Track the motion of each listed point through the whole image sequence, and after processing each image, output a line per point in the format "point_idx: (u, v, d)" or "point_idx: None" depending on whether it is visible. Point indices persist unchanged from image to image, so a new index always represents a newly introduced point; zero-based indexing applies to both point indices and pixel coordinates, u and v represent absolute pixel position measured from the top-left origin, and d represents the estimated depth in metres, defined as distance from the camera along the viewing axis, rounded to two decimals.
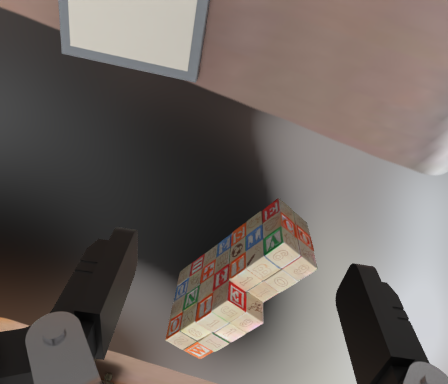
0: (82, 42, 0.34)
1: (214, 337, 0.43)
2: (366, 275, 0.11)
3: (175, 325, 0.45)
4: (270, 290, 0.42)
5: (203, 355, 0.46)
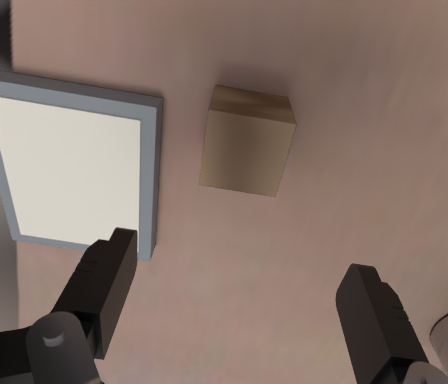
0: (0, 114, 0.22)
1: None
2: (366, 275, 0.11)
3: None
4: None
5: None
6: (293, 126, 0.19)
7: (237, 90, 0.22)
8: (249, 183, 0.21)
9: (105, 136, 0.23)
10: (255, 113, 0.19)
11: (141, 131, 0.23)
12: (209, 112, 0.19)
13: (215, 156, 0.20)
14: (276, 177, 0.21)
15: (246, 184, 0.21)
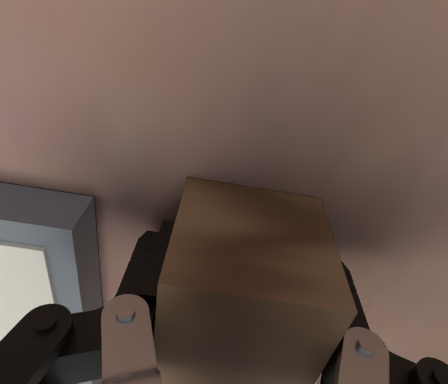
0: None
1: None
2: None
3: None
4: None
5: None
6: (350, 315, 0.08)
7: (227, 190, 0.12)
8: None
9: None
10: (264, 278, 0.09)
11: (51, 263, 0.12)
12: (160, 288, 0.08)
13: (179, 351, 0.10)
14: (305, 382, 0.10)
15: None
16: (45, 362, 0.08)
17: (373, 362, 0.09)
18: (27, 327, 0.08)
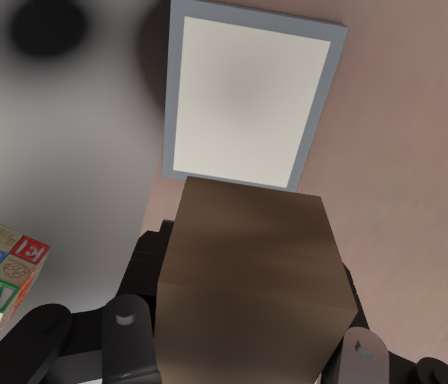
0: (191, 37, 0.23)
1: None
2: None
3: None
4: None
5: None
6: (350, 313, 0.08)
7: (227, 188, 0.12)
8: None
9: (290, 59, 0.23)
10: (264, 277, 0.09)
11: (327, 54, 0.23)
12: (160, 286, 0.08)
13: (180, 349, 0.10)
14: (305, 381, 0.10)
15: None
16: (46, 362, 0.08)
17: (373, 362, 0.09)
18: (27, 327, 0.08)
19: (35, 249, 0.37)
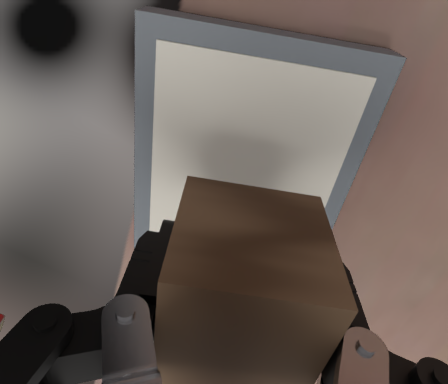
0: (167, 70, 0.15)
1: None
2: None
3: None
4: None
5: None
6: (350, 314, 0.08)
7: (227, 189, 0.12)
8: None
9: (314, 103, 0.16)
10: (264, 277, 0.09)
11: (370, 95, 0.16)
12: (160, 286, 0.08)
13: (180, 350, 0.10)
14: (305, 381, 0.10)
15: None
16: (45, 362, 0.08)
17: (373, 362, 0.09)
18: (27, 327, 0.08)
19: None
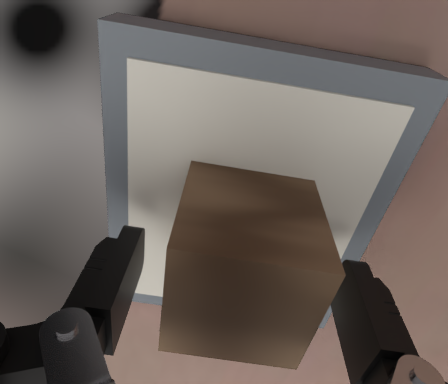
0: (143, 96, 0.12)
1: None
2: (358, 271, 0.12)
3: None
4: None
5: None
6: (339, 278, 0.09)
7: (228, 172, 0.13)
8: (249, 351, 0.12)
9: (332, 137, 0.12)
10: (261, 246, 0.10)
11: (404, 127, 0.12)
12: (168, 252, 0.09)
13: (184, 315, 0.11)
14: (299, 345, 0.11)
15: (244, 352, 0.12)
16: None
17: None
18: None
19: None
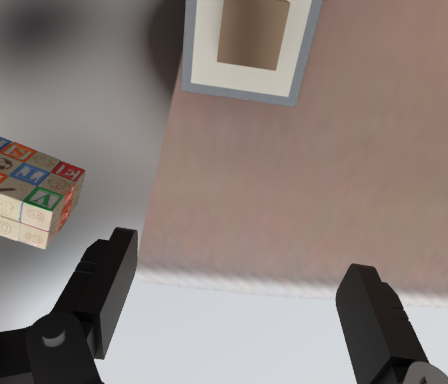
0: None
1: None
2: (366, 275, 0.11)
3: None
4: None
5: None
6: (288, 4, 0.25)
7: None
8: (255, 58, 0.27)
9: None
10: None
11: None
12: None
13: (229, 34, 0.27)
14: (276, 52, 0.27)
15: (253, 59, 0.27)
16: None
17: None
18: None
19: (72, 171, 0.42)
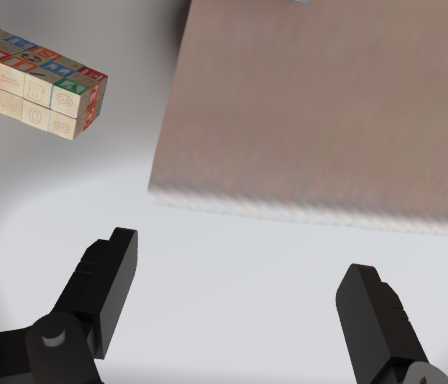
0: None
1: None
2: (366, 275, 0.11)
3: None
4: (17, 111, 0.39)
5: None
6: None
7: None
8: None
9: None
10: None
11: None
12: None
13: None
14: None
15: None
16: None
17: None
18: None
19: (96, 74, 0.44)
